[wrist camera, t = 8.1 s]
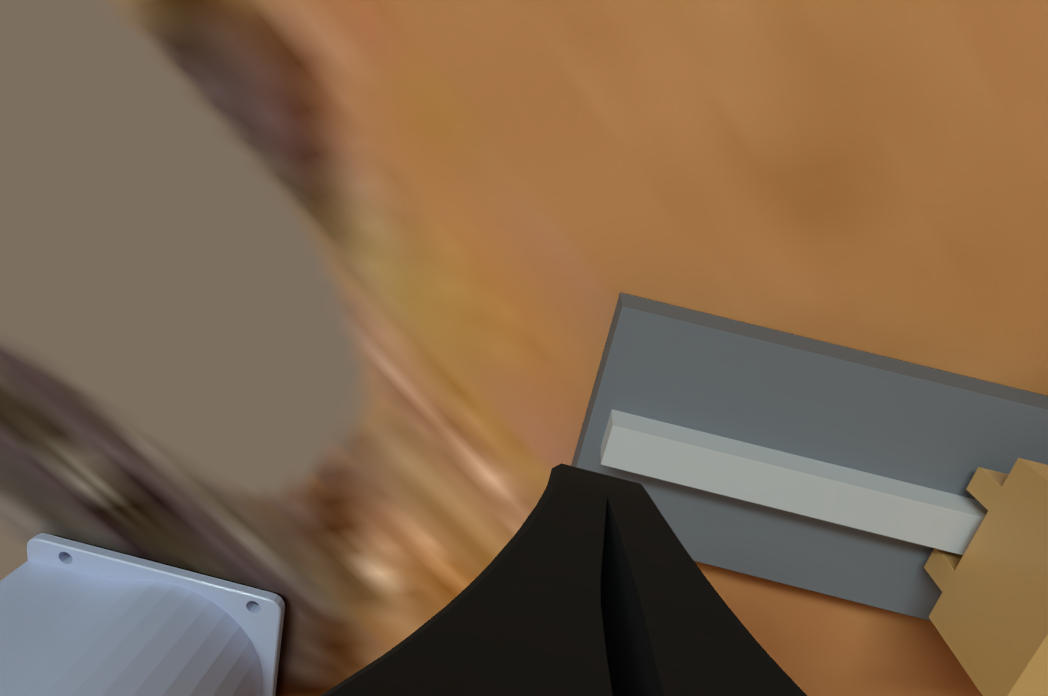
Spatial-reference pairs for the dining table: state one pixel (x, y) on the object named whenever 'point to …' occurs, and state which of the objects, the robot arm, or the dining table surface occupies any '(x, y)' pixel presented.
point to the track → (801, 450)
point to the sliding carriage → (1000, 585)
